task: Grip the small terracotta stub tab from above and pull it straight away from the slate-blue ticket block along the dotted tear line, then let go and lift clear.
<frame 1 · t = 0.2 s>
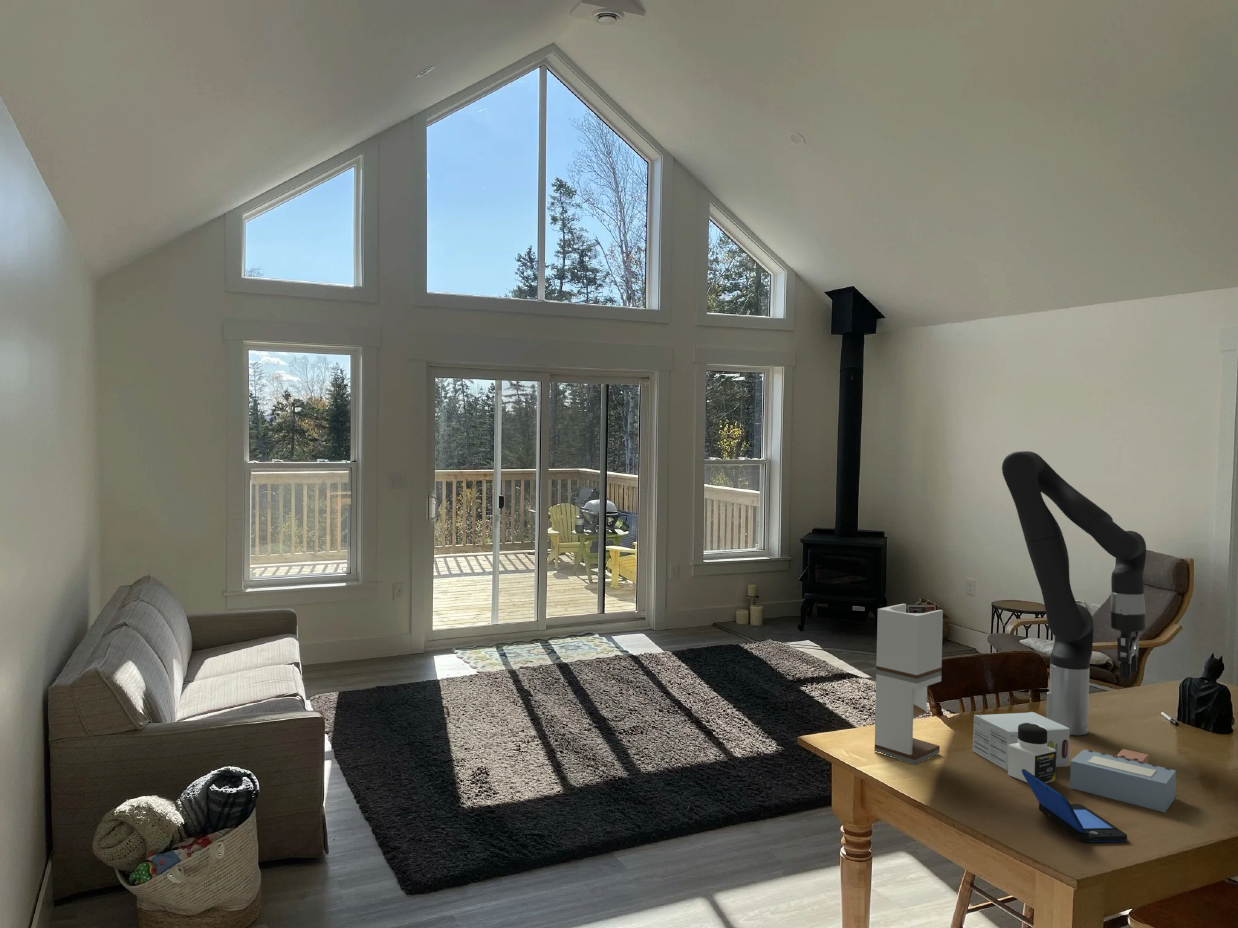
hand: (1128, 674, 219), 18 cm above the table, tool pointing down, fingers open, 8 cm apart
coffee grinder: (906, 753, 211), on the table
handheld game console: (1072, 827, 172), on the table
ticket block: (1121, 792, 188), on the table
medicine bottle: (1031, 778, 196), on the table
supplement box: (1019, 760, 208), on the table
stub: (1131, 767, 195), point 3 cm above the table, slide at 0.0 cm
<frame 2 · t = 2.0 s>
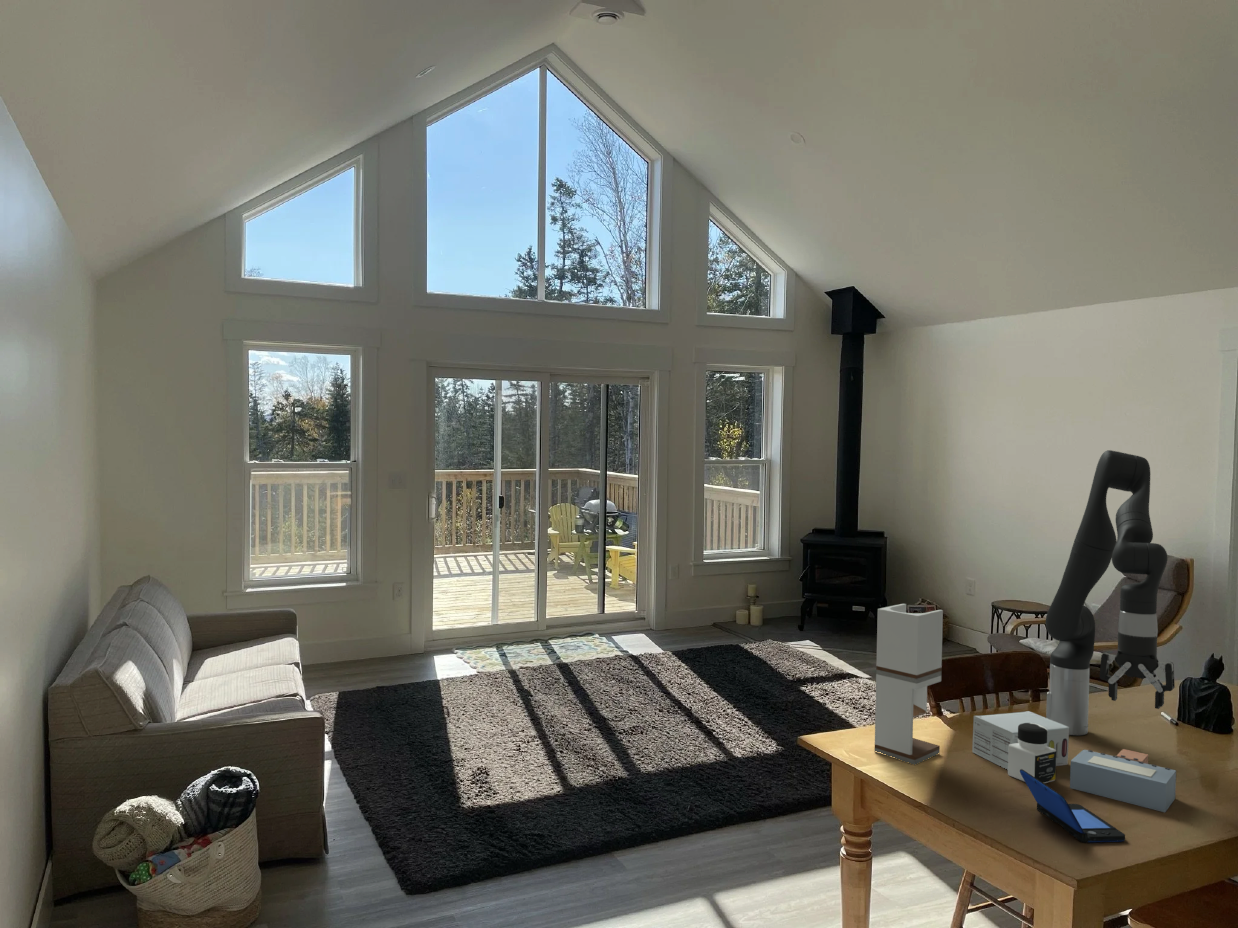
hand: (1135, 703, 194), 18 cm above the table, tool pointing down, fingers open, 8 cm apart
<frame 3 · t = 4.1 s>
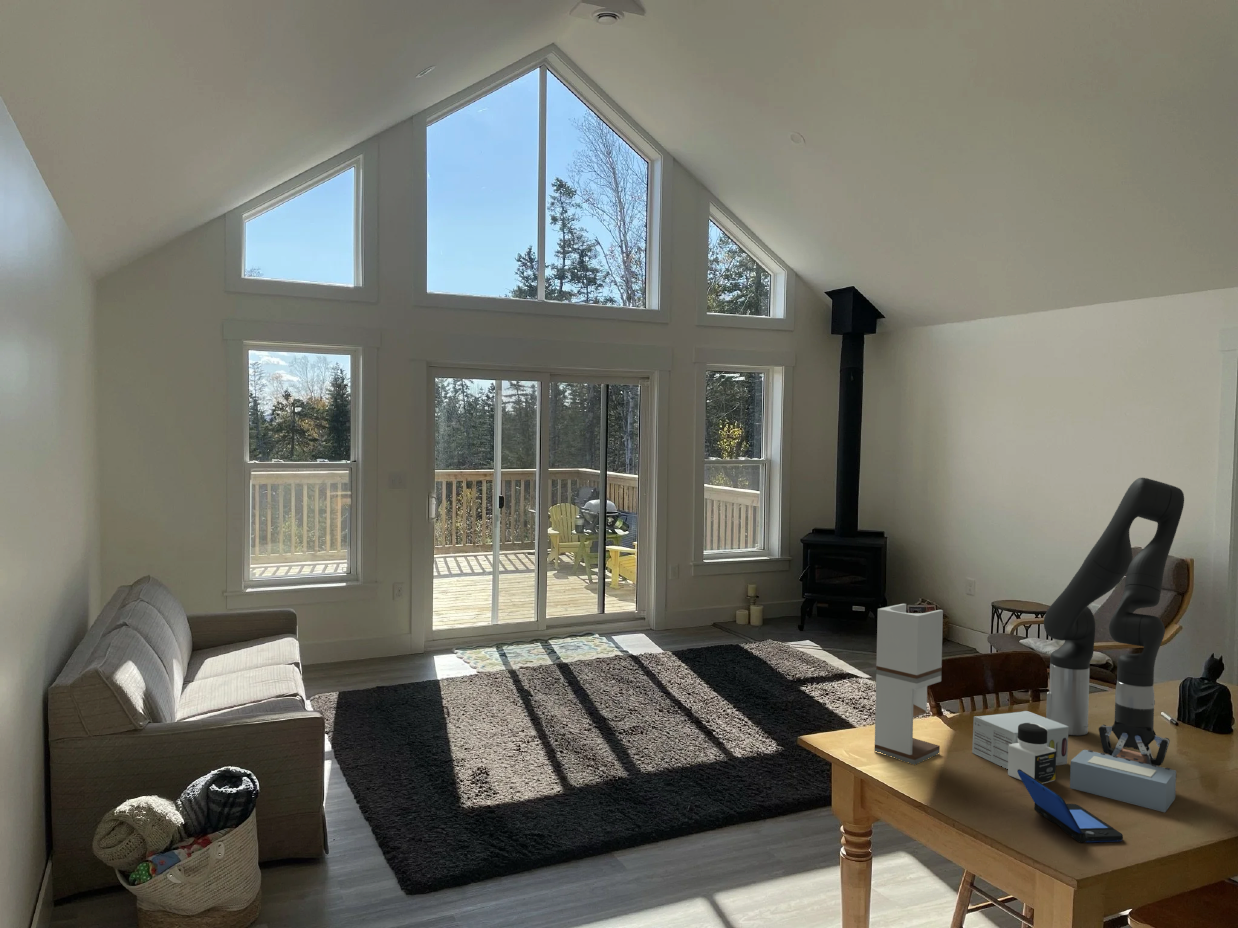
hand: (1132, 777, 195), 1 cm above the table, tool pointing down, fingers closed on stub, 5 cm apart
stub: (1131, 767, 195), point 3 cm above the table, slide at 0.0 cm, touching gripper
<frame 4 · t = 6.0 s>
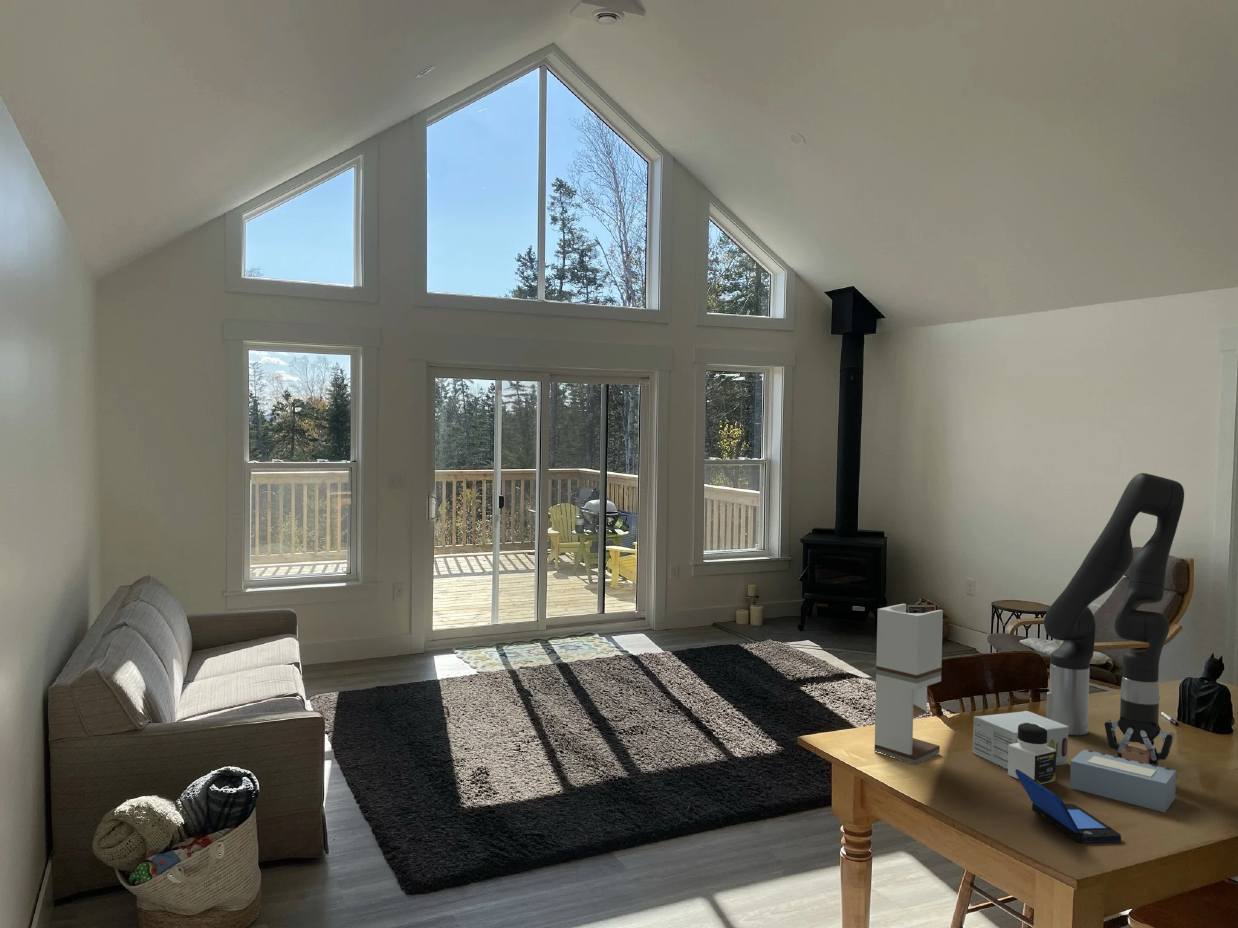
hand: (1137, 771, 199), 1 cm above the table, tool pointing down, fingers closed on stub, 5 cm apart
stub: (1137, 762, 198), point 3 cm above the table, slide at 4.9 cm, touching gripper
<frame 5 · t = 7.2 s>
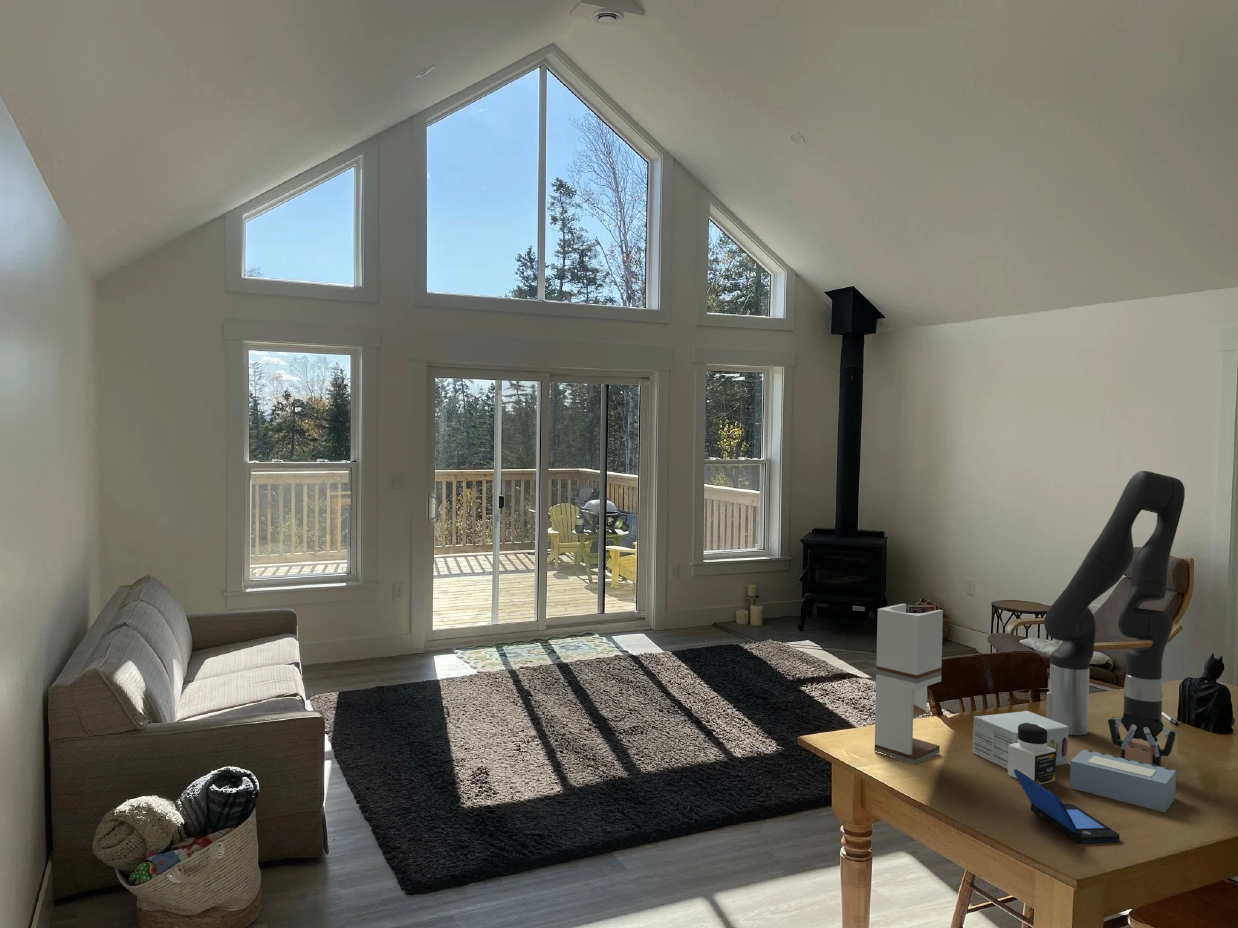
hand: (1140, 767, 201), 1 cm above the table, tool pointing down, fingers closed on stub, 5 cm apart
stub: (1140, 758, 200), point 3 cm above the table, slide at 8.0 cm, touching gripper
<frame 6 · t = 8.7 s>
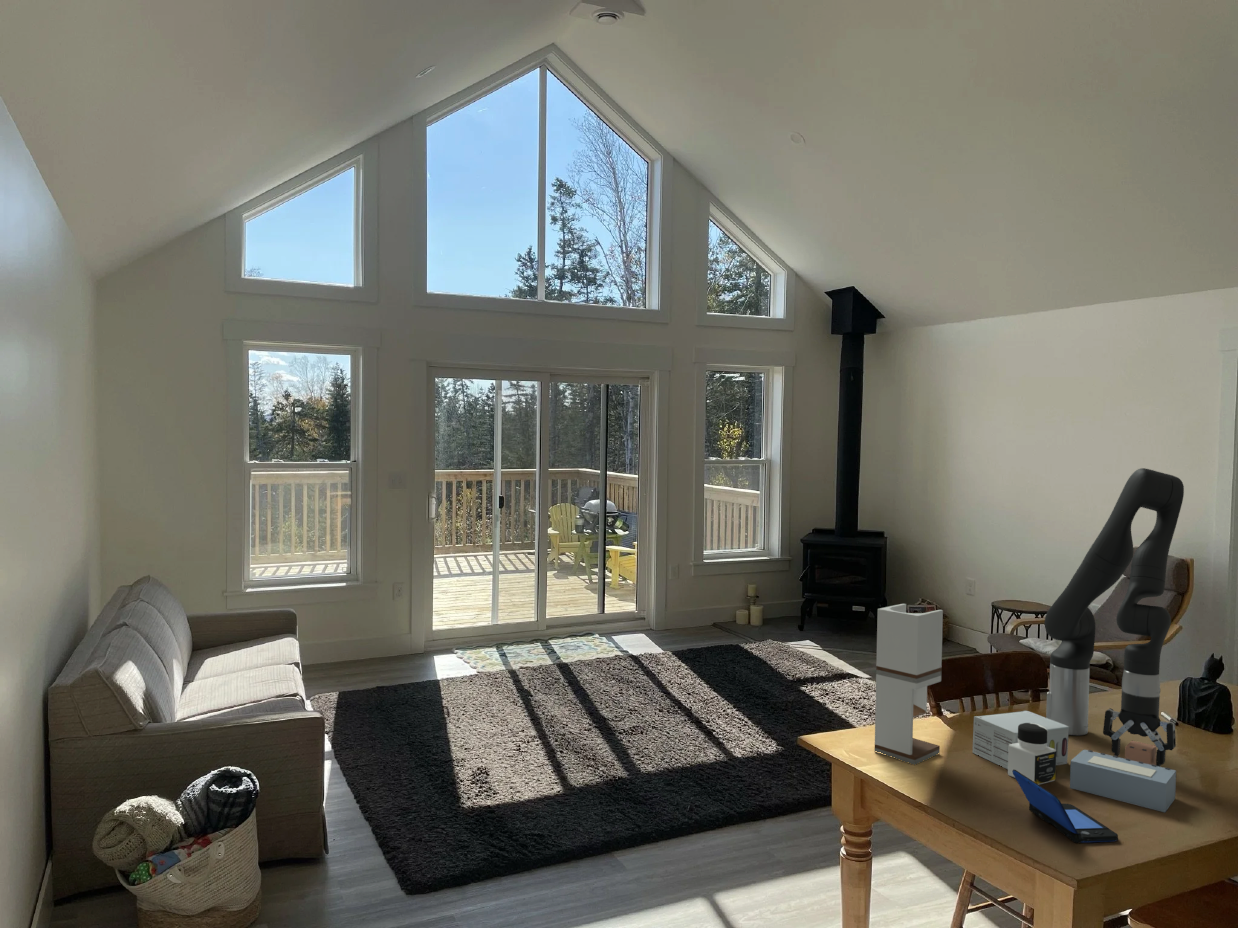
hand: (1137, 760, 201), 3 cm above the table, tool pointing down, fingers open, 8 cm apart
stub: (1140, 758, 200), point 3 cm above the table, slide at 8.0 cm
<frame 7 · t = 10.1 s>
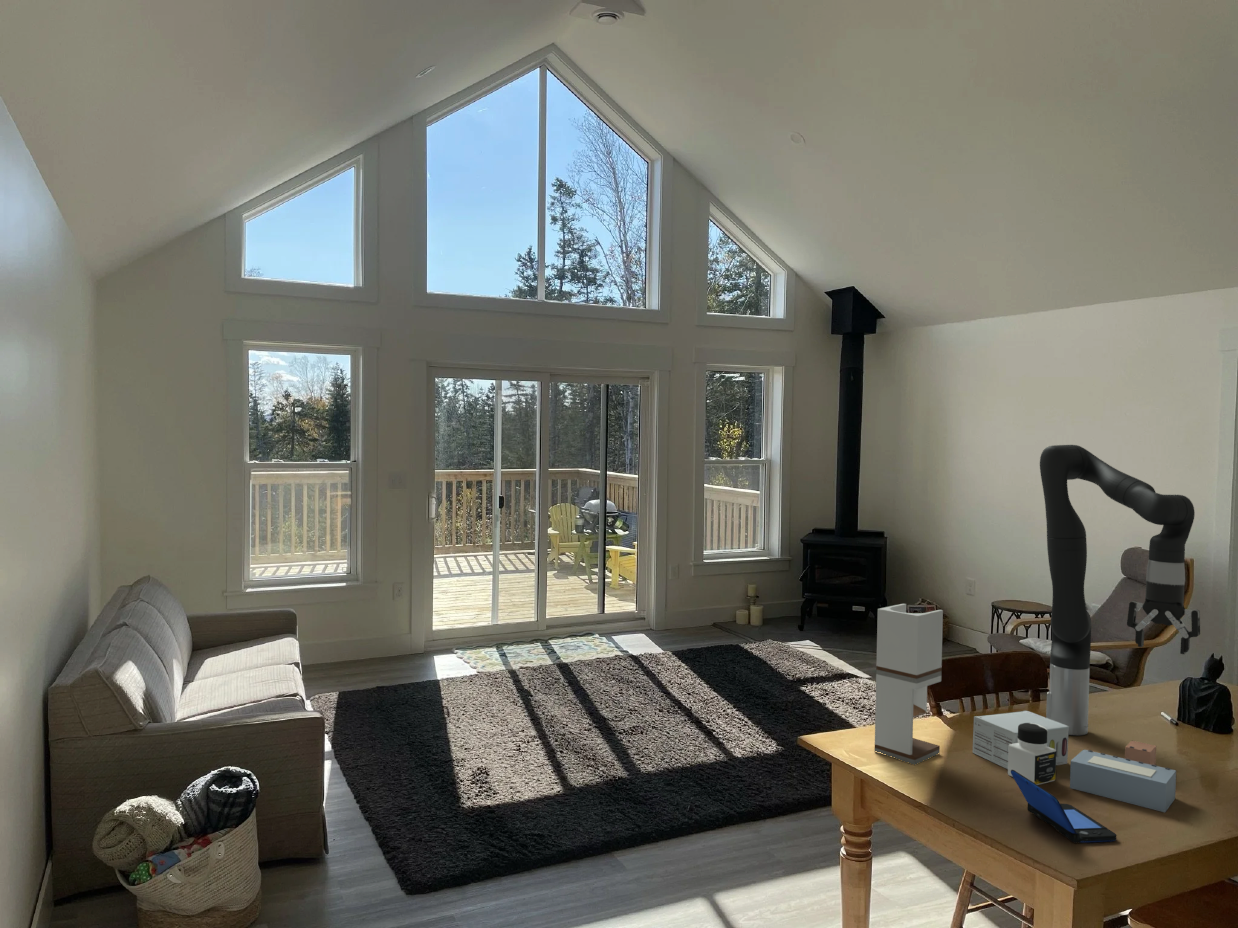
hand: (1161, 649, 202), 28 cm above the table, tool pointing down, fingers open, 8 cm apart
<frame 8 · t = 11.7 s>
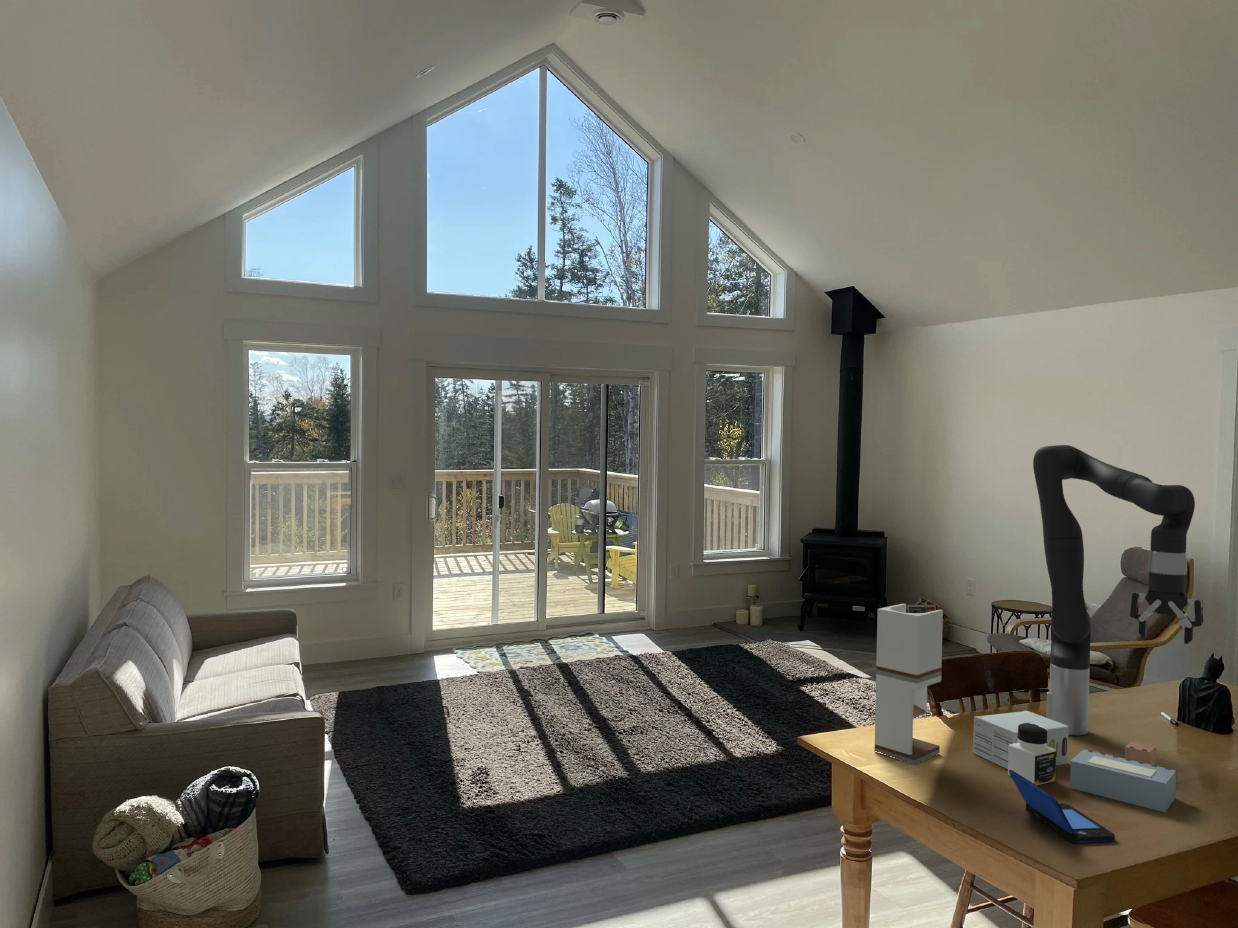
hand: (1165, 640, 202), 30 cm above the table, tool pointing down, fingers open, 8 cm apart
at the end: stub slide at 8.0 cm; the gripper is holding nothing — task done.
